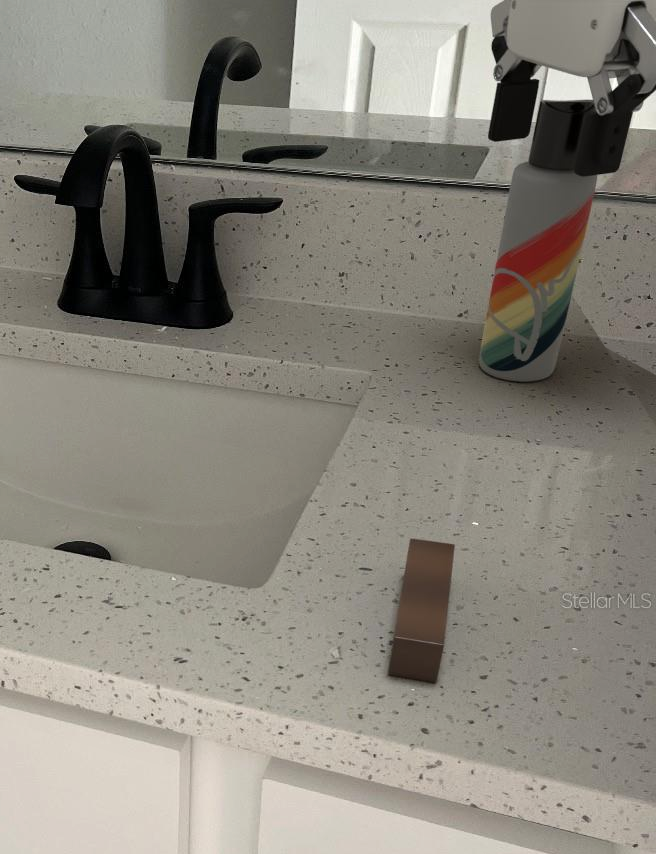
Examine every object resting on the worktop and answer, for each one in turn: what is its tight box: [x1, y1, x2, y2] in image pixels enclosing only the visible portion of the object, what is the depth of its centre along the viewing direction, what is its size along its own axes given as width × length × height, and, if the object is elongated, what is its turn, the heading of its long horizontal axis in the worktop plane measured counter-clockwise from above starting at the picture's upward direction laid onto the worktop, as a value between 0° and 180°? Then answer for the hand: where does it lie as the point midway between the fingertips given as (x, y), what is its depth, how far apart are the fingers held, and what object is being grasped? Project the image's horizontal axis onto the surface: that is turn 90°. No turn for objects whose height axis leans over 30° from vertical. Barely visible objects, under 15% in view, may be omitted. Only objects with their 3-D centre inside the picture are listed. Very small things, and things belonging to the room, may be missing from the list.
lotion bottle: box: [478, 99, 598, 383], centre depth 88 cm, size 6×6×20 cm
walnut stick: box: [387, 537, 456, 683], centre depth 66 cm, size 10×2×2 cm, turn 162°
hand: (549, 155), depth 84 cm, fingers open, 9 cm apart
